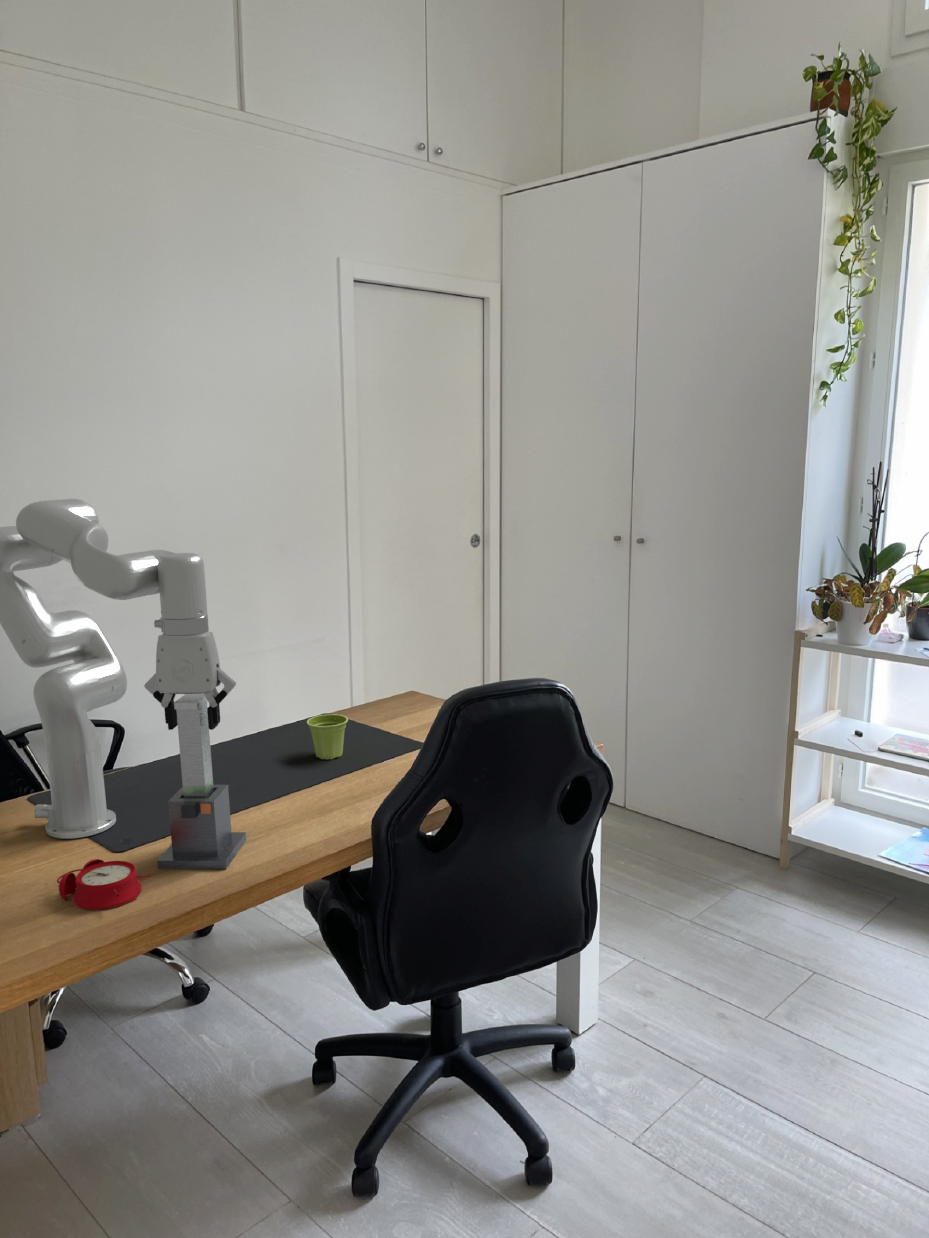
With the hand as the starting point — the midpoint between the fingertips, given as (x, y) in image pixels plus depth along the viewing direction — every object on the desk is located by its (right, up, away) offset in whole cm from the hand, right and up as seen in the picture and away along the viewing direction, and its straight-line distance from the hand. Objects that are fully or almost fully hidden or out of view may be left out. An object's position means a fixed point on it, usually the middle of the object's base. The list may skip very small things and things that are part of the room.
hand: (193, 726), depth 162 cm
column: (0, -16, +3) cm, 16 cm away
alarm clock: (-12, -27, -9) cm, 31 cm away
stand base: (+1, -23, +4) cm, 24 cm away
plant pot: (+16, -13, +56) cm, 59 cm away
